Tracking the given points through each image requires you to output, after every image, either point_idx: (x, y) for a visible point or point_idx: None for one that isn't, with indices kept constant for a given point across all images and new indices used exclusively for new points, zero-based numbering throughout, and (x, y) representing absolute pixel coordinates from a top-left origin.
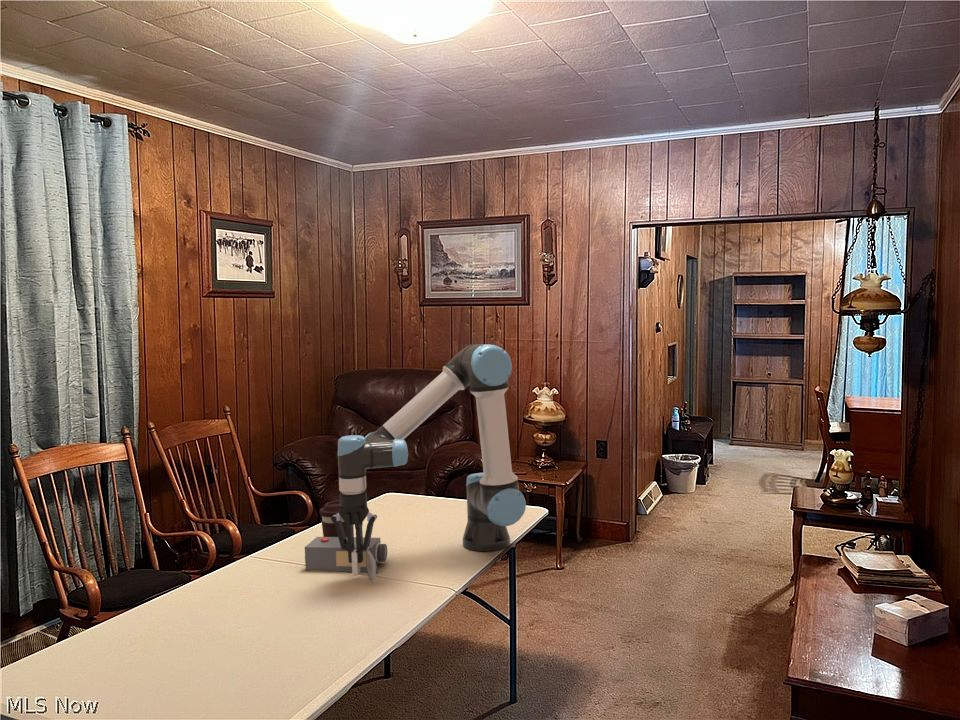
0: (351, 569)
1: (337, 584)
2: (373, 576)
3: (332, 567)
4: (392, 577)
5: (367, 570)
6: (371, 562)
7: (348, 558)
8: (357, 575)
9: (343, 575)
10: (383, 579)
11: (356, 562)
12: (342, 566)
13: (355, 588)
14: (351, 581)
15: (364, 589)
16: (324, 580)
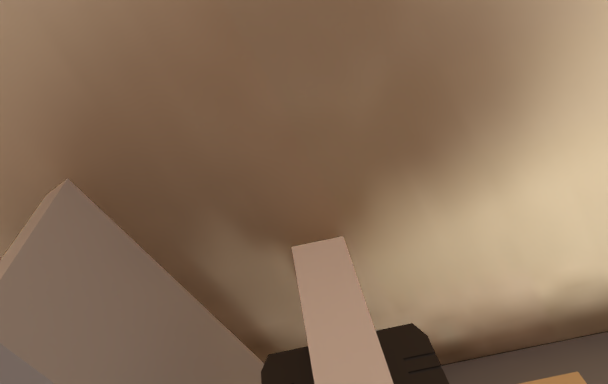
0: None
1: (436, 93)
2: (45, 206)
3: (605, 357)
4: None
5: None
6: (68, 344)
7: (437, 358)
8: (292, 247)
9: (466, 288)
10: None
11: (312, 332)
12: (524, 381)
13: (204, 41)
14: (336, 192)
15: (94, 39)
16: (594, 150)
